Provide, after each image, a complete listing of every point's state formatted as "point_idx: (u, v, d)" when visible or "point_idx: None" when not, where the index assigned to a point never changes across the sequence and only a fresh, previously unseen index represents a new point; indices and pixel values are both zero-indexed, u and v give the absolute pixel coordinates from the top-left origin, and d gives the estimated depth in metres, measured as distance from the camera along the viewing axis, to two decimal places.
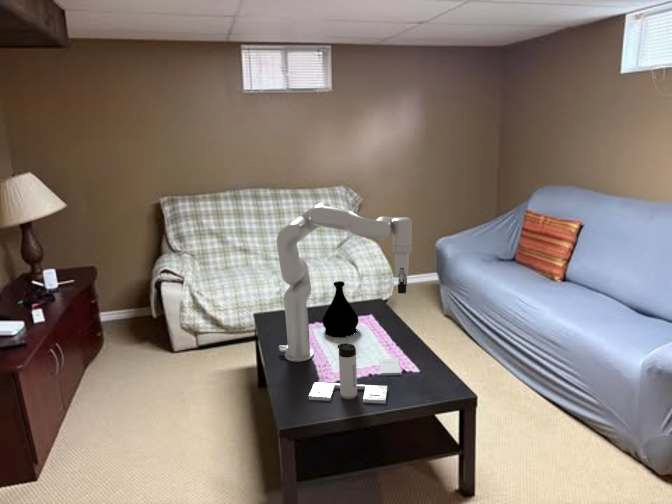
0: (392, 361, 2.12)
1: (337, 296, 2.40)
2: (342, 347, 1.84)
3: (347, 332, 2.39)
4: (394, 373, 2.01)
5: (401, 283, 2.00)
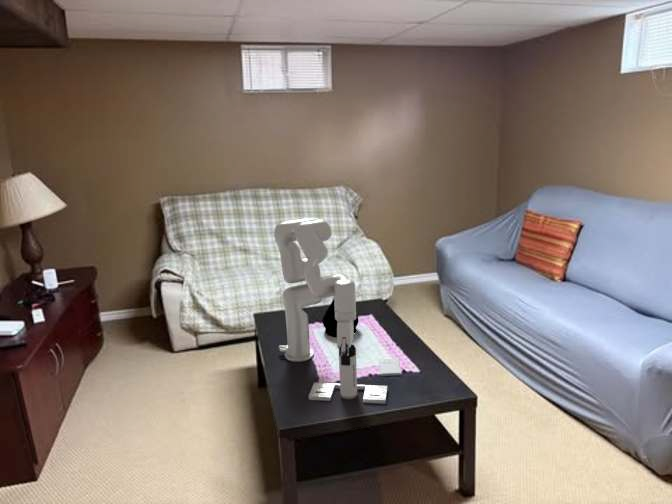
0: (391, 361, 2.11)
1: None
2: None
3: None
4: (394, 373, 2.01)
5: (344, 355, 1.79)
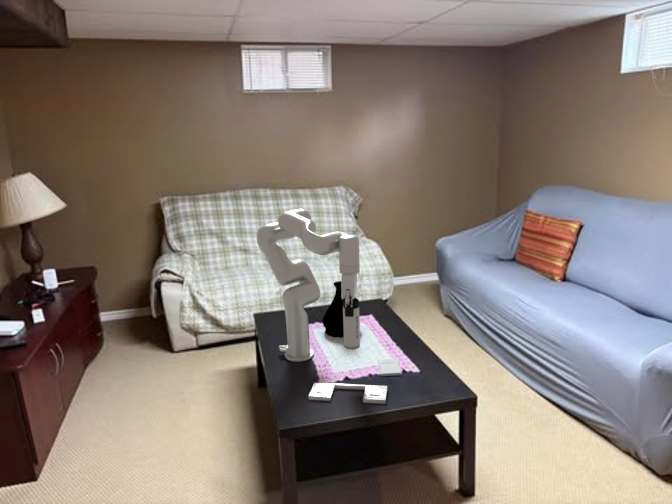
0: (391, 361, 2.11)
1: (337, 296, 2.40)
2: None
3: None
4: (394, 373, 2.01)
5: (348, 306, 1.89)
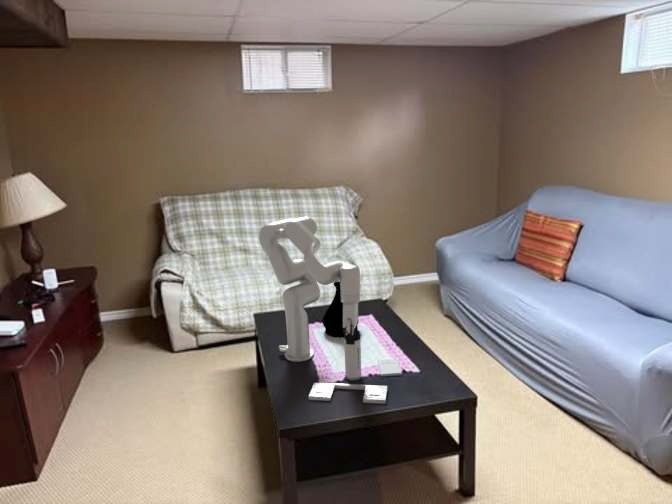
0: (390, 361, 2.11)
1: (336, 296, 2.40)
2: None
3: None
4: (395, 373, 2.01)
5: (349, 334, 1.90)
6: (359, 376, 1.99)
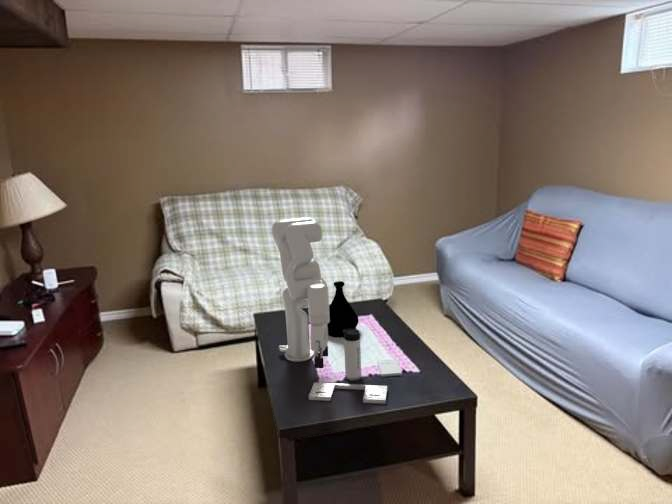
0: (390, 361, 2.11)
1: (336, 296, 2.40)
2: (347, 332, 1.97)
3: None
4: (395, 374, 2.01)
5: (317, 357, 1.79)
6: (359, 376, 1.99)
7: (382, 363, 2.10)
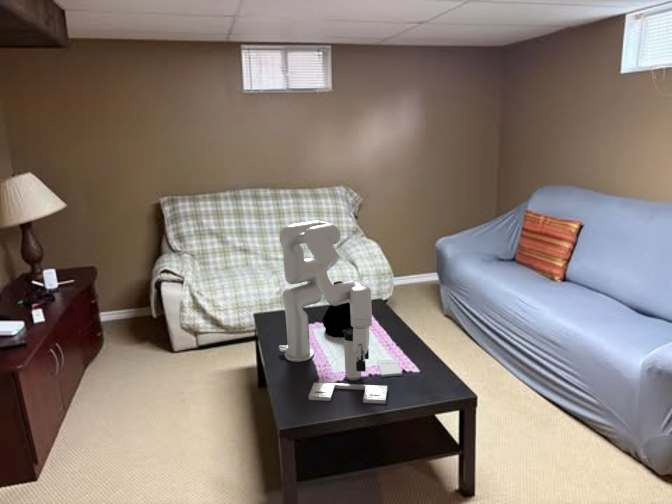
0: (389, 361, 2.11)
1: None
2: (347, 332, 1.97)
3: None
4: (395, 374, 2.01)
5: (359, 361, 1.77)
6: (359, 376, 1.99)
7: (382, 363, 2.09)
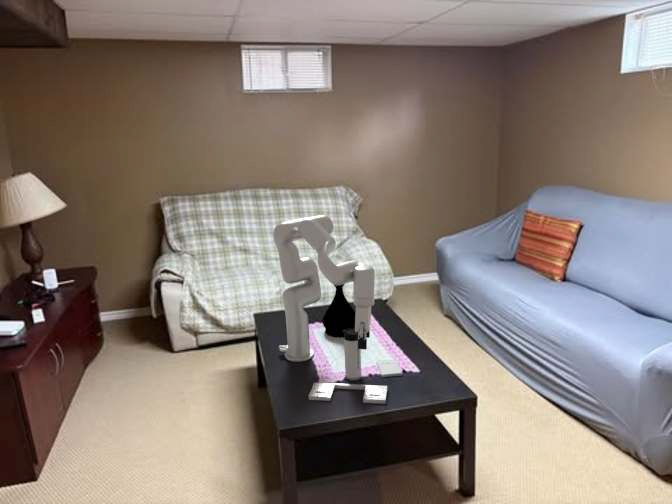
0: (389, 361, 2.11)
1: (336, 296, 2.40)
2: (347, 332, 1.97)
3: None
4: (395, 374, 2.01)
5: (361, 339, 1.81)
6: (359, 376, 1.99)
7: (381, 363, 2.09)
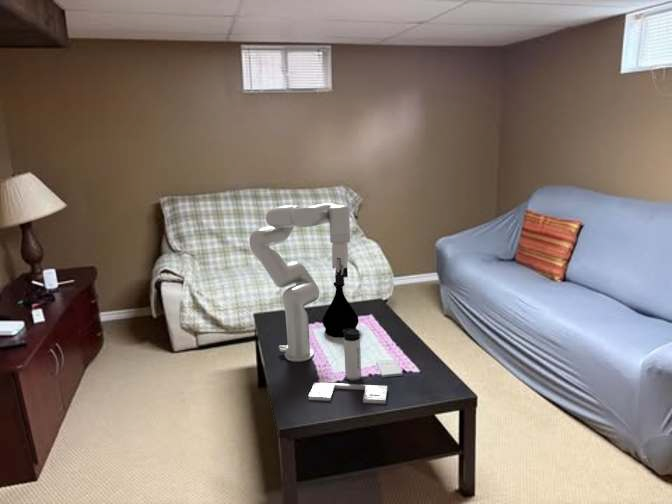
0: (389, 361, 2.11)
1: (336, 296, 2.40)
2: (347, 332, 1.97)
3: None
4: (395, 374, 2.01)
5: (338, 274, 1.90)
6: (359, 376, 1.99)
7: (381, 364, 2.09)
